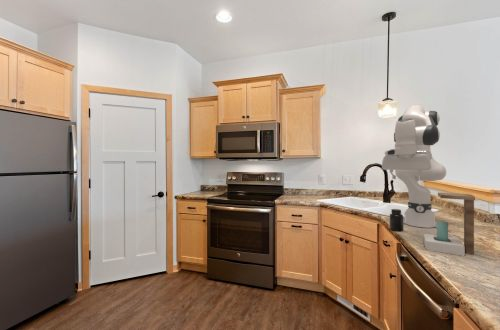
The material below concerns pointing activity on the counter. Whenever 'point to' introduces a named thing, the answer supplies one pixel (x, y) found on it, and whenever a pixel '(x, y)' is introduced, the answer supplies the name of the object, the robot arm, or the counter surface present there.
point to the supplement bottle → (396, 220)
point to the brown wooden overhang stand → (465, 218)
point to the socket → (444, 245)
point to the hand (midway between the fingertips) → (405, 179)
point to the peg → (442, 231)
